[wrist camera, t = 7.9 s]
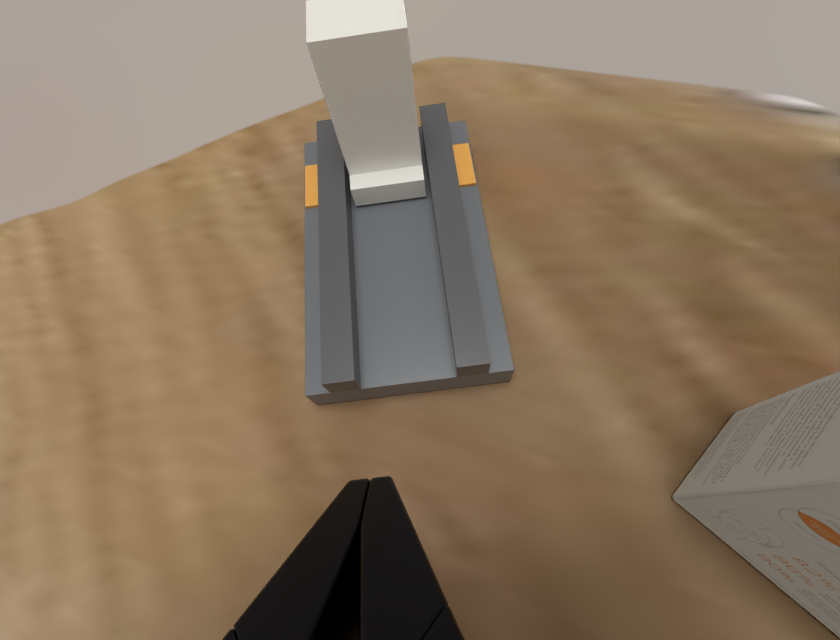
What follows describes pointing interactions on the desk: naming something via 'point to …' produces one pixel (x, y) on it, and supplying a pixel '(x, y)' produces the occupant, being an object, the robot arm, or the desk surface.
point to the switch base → (400, 277)
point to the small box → (779, 493)
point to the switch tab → (369, 94)
